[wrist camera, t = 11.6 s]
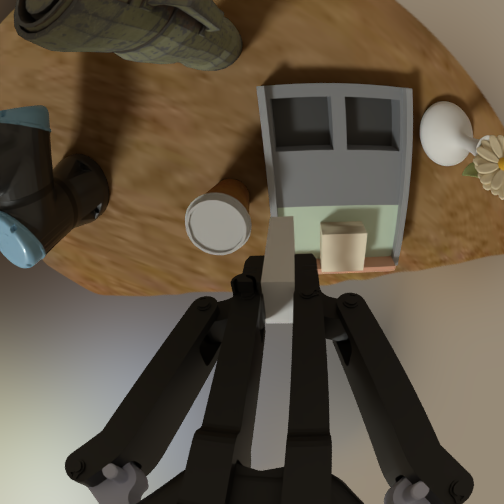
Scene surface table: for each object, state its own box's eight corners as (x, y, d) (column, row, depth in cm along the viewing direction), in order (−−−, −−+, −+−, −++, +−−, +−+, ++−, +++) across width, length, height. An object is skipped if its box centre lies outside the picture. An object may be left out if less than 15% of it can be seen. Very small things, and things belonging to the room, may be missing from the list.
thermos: (250, 73, 36) (136, 34, 7) (176, 71, 36) (-21, 89, 7) (256, 22, 31) (172, -113, 2) (181, 23, 31) (0, -30, 2)
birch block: (319, 258, 48) (321, 272, 45) (320, 222, 44) (322, 234, 41) (358, 256, 47) (363, 270, 44) (361, 221, 43) (367, 233, 40)
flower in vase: (460, 97, 31) (566, 130, 11) (470, 157, 37) (560, 222, 16) (400, 106, 35) (499, 139, 14) (413, 170, 41) (496, 249, 20)
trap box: (277, 252, 53) (275, 275, 47) (260, 86, 37) (255, 86, 31) (389, 248, 50) (399, 270, 44) (398, 87, 33) (416, 89, 28)
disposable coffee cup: (213, 161, 45) (190, 186, 35) (267, 181, 46) (260, 211, 36) (198, 209, 50) (176, 244, 40) (248, 227, 51) (237, 266, 41)
